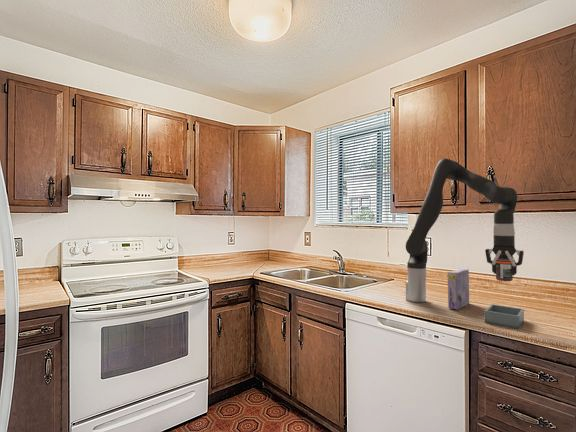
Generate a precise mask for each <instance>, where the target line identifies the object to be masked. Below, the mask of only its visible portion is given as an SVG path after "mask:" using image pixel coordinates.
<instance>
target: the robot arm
mask: <svg viewBox="0 0 576 432" xmlns="http://www.w3.org/2000/svg"><path fill="white" fill-rule="evenodd" d="M446 180H452V181H456V182H459V183H462V184H463V185H466V186H467V187H468V188H469V189H471V190H472V191H474V192H476V193H478V194H480V195H483V196H484V198H486V200H488V201H490V202H492V203H494V204H497V205H498V204H499V205H500V206H499V209H497V210H495V211H494V214H493V247H492V248H486V249H485V251H484V252H485V258H486V262H487V263H488V264H490V265H491V273H493V274H495V275H496V260H497V259H498V258H499V256H500V254H506V255H507V256H508V258H509V260H510V261H511V263H512V265H513V266H512V275H513V276H515V275H517V273H518V271H517V270H518V266H521V265H522V264H523V260H524V253H525V250H519V249H516V247H515V245H516V244H515V243H516V242H515V238H516V237H515V235H516V232H515V223H514V222H515V221H514V213H515V210H516V207H517V203H518V194H517V191H516V189H514V188H512V187H509V186H507V187H506V186H505V187H504V186H499V185H497V184H496V183H495V181H493V180H491V179H489V178H487V177H484V176H482V175H480V174H477V173H476V172H475V173H474V172H472V171H470V170H468V169H467V168H465V167H464V166H463V165H461V164H460V163H459V162H457V161H455V160H452V159H449V158H447V157H446V158H442V159H440V160H439V161H438V163H437V164H436V166H435V169H434V171H433V176H432V178H431V182H430V185H429V187H428V191H427V193H426V196H425V198H424V200H423V203H422V206H421V207H420V210H419V213H418V216H417V218H416V221H415V225H414V227H413V229H412V230H411V233H410V235H409V237H408V238H407V240H406V242H405V250H406V252H407V254H409V258H408V261H407V263H406V264H407V268H406V269H407V270H406V271H407V272H406V273H407V274H406V275H407V277H406V279H407V280H406V281H405V300H406V301H409V302H413V303H424V302H426V301H427V263H428V251H429V250H428V242H427V240H426V238H427V236H428V233H429V231H431V228H433V226H434V224H435V223H436V222H437V220H438V219H439V216H440V214H441V212H442V209H443V207H444V194H443V190H444V186H445V183H446ZM492 253H493V254H494V255H495V256H494V258H493V260H492V257H491V254H492ZM515 254H516V255H517V256H518V260H517V261H516V260H515V257H514V255H515Z"/></svg>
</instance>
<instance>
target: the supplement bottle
mask: <svg viewBox="0 0 576 432" xmlns="http://www.w3.org/2000/svg"><path fill="white" fill-rule="evenodd" d="M512 266H513V265H512V263H511V261H510V260H509V258H508V256H507V255H506V254H500V256H499V258H498V259H497V260H496V274H495V279H496V280H497V281H500V282H512V281H513V279H514V278H513V277H514V275H512Z"/></svg>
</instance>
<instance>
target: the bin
mask: <svg viewBox="0 0 576 432" xmlns="http://www.w3.org/2000/svg"><path fill="white" fill-rule="evenodd" d="M524 321H525V309H524V308H520V307H511V306H507V305H506V306H505V305H499V304H492V303H491V304H490V305H489V306H488V307H487V308H486V309H485V310H484V323H485V324H490V325H496V326H500V327H505V328H510V329H511V328H512V329H518V330H520V328H521V326H522V325H523V324H524Z"/></svg>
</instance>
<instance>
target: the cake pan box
mask: <svg viewBox="0 0 576 432" xmlns="http://www.w3.org/2000/svg"><path fill="white" fill-rule="evenodd" d="M469 278H470V269H469V268H467V269H466V268H459V269H455V270H451V271H447V301H448V303H447V306H448V307H447V308H448V309H452V310H456V311H458V310H460V309H462V308H465V307H466V306H467V305H469V304H470V279H469Z"/></svg>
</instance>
